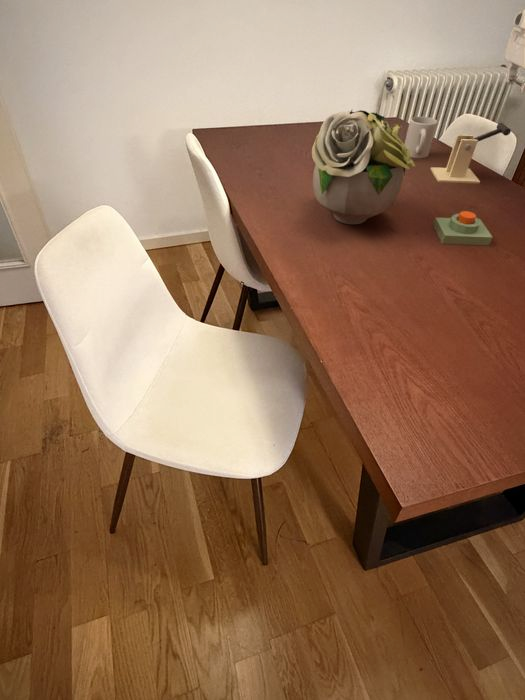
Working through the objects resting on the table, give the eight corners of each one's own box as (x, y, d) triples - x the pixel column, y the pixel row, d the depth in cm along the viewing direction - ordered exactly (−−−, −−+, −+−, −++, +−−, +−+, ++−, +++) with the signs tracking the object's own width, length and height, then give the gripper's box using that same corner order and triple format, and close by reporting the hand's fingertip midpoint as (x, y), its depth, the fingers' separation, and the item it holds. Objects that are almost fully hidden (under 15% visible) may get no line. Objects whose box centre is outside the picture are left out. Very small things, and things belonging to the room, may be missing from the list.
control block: (476, 227, 101) (483, 212, 98) (488, 245, 95) (496, 230, 92) (432, 225, 101) (437, 210, 99) (441, 243, 95) (447, 228, 92)
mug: (400, 150, 139) (409, 115, 132) (426, 152, 138) (436, 117, 131) (403, 163, 131) (412, 126, 123) (430, 165, 130) (441, 128, 122)
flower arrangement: (289, 230, 99) (296, 120, 81) (317, 190, 115) (328, 92, 98) (391, 250, 92) (422, 136, 75) (405, 206, 109) (433, 103, 92)
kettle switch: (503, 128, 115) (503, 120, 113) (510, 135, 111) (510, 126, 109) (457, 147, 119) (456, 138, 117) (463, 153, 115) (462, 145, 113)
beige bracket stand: (468, 173, 126) (483, 132, 118) (478, 186, 119) (495, 144, 110) (429, 172, 126) (441, 131, 118) (437, 185, 119) (451, 142, 111)
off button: (470, 218, 97) (473, 211, 95) (475, 225, 94) (478, 218, 93) (455, 217, 97) (458, 210, 96) (459, 224, 94) (462, 217, 93)
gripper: (579, 25, 87) (546, 98, 97) (538, 15, 102) (513, 79, 111) (549, 24, 87) (520, 97, 97) (513, 14, 102) (490, 79, 112)
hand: (516, 88), depth 104 cm, fingers open, 8 cm apart
